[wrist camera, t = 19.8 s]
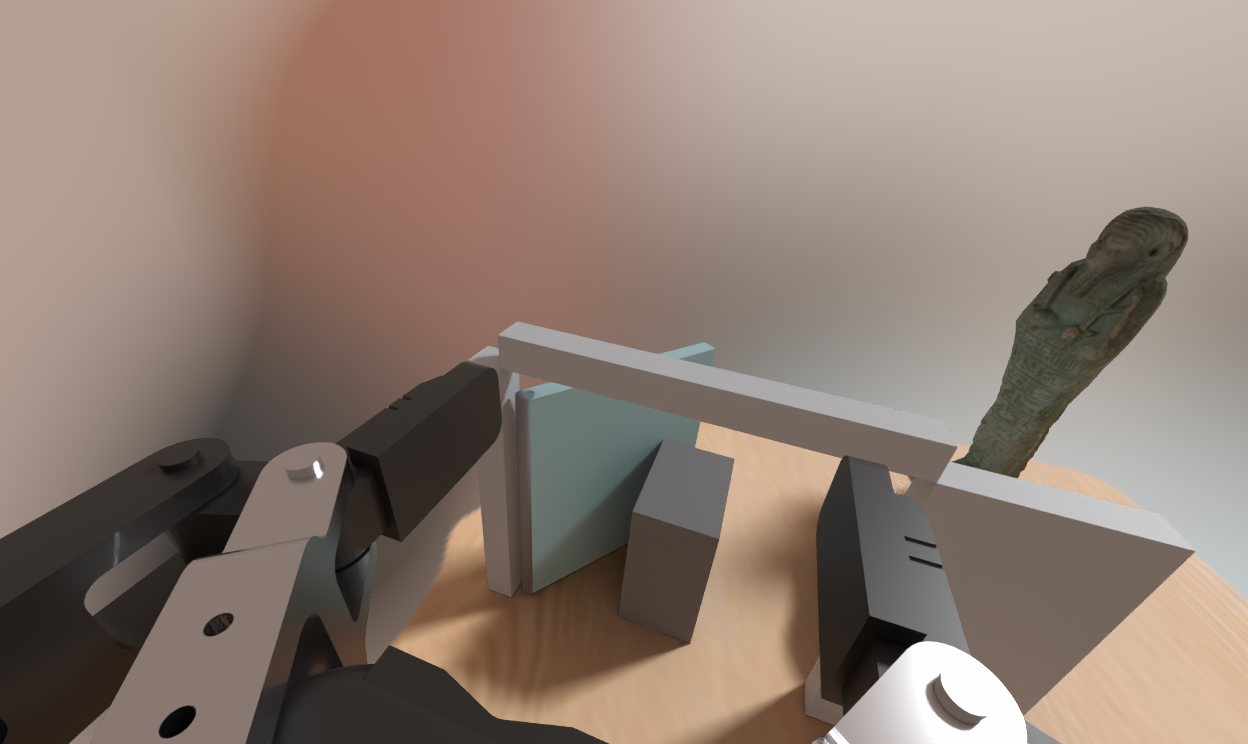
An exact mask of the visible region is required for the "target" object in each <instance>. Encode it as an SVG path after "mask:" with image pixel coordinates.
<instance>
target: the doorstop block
mask: <svg viewBox="0 0 1248 744" xmlns="http://www.w3.org/2000/svg"><path fill="white" fill-rule="evenodd" d="M733 464H734V459H733V458H729V457H726V456H722V455H718V454H715V453H711V452H707V451H704V450H700V449H697V448H693V447H689V446H686V445H682V444H678V443H675V442H671V441H668V440H663V442H662V444H661V447H660V449H659V451H658V454H657V456H656V458H655V461H654V463H653V465H652V467H651V470H650V472H649V474H648V477H647V479H646V481H645V484H644V486H643V488H642V491H641V493H640V495H639V498H638V500H637V502H636V504H635V507H634V509H633V512H632V519H631V526H630V533H629V541H628V548H627V555H626V562H625V570H624V577H623V584H622V591H621V599H620V606H619V613H618V617H620V618H623V619H626V620H628V621H631V622H634V623H636V624H639V625H642V626H644V627H647V628H649V629H652V630H655V631H657V632H660V633H663V634H665V635H668V636H671V637H673V638H676V639H678V640H681V641H684V642H686V643H689V644H690V642H691V638H692V635H693V631H694V627H695V624H696V620H697V617H698V613H699V610H700V606H701V602H702V599H703V595H704V592H705V588H706V585H707V581H708V577H709V574H710V570H711V567H712V563H713V559H714V556H715V552H716V549H717V545H718V542H719V538H720V532H721V527H722V522H723V517H724V511H725V506H726V501H727V496H728V490H729V485H730V480H731V475H732V469H733Z"/></svg>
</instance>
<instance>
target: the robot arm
mask: <svg viewBox="0 0 1248 744" xmlns="http://www.w3.org/2000/svg"><path fill="white" fill-rule="evenodd" d="M501 426H502V412H501V401H500V390H499V379H498V374H497V372H496V370H495V369H494V368H490V367H486V366H482V365H478V364H474V363H470V362H462V363H460V364H459V365H457V366H456V367H455V368H453V369H452V370H451V371H449V372H448V373H446V374H445V375H444V376H439V377H437V378H434V379H432V380H429V381H426V382H424V383H421V384H419V385H418V386H416V387H415V388H414V389H412V390H411V391H409V392H408V393H406V394H405V395H404V396H403V398H402V399H400V398H399V399H398V400H397V401H395V402H394V403H393V404H391V405H389V408H388V409H386V408H385V409H384V410H382V411H381V412H380V413H378V414H377V415H375V416H374V417H372V418H371V419H370V420H368V421H367V422H365V423H364V424H363V425H361V426H360V427H358V428H357V429H356V430H354V431H353V432H351V433H350V434H348V435H347V436H346V437H344V438H343V439H341V440H340V441H339V442H337V443H336V444H332V443H326V442H324V443H323V442H319V443H311V444H305V445H302V446H298V447H295V448H292V449H290V450H288V451H285V452H284V453H282V454H280V455H278V456H277V457H275V458H274V459H272V460H271V461H270V462H257V461H236V460H235V458H234V456H233V454H232V452H231V450H230V448H229V446H228V445H227V443H226V442H224V441H222V440H220V439H214V438H200V439H193V440H188V441H184V442H180V443H177V444H174V445H171V446H168V447H166V448H164V449H161V450H159V451H157V452H155V453H153V454H152V455H150V456H148V457H146V458H144V459H143V460H141V461H139V462H137V463H135V464H134V465H132V466H130V467H128V468H126V469H125V470H123V471H121V472H119V473H118V474H116V475H114V476H112V477H110V478H109V479H107V480H105V481H103V482H101V483H100V484H98V485H96V486H94V487H93V488H91V489H89V490H87V491H86V492H84V493H82V494H80V495H78V496H76V497H75V498H73V499H71V500H69V501H68V502H66V503H64V504H62V505H60V506H58V507H57V508H55V509H53V510H51V511H50V512H48V513H46V514H44V515H43V516H41V517H39V518H37V519H35V520H34V521H32V522H30V523H28V524H26V525H25V526H23V527H21V528H19V529H17V530H16V531H14V532H12V533H10V534H8V535H7V536H5V537H3V538H1V539H0V744H69V743H70V742H71V741H72V740H73V739H74V738H75V737H76V736H78V734H80V733H81V732H82V731H83V730H84V729H85V728H86V727H87V726H88V725H90V724H91V722H93V721H94V720H95V719H96V718H97V717H99V716H100V715H101V714H102V713H103V712H104V711H105V710H106V709H107V708H108V707H109V706H110V708H109V710H108V712H107V713H106V715H105V717H104V719H103V721H102V723H101V725H100V726H99V728H98V730H97V732H96V734H95V736H94V738H93V739H92V741H91V743H90V744H609V743H606V742H604V741H602V740H600V739H597V738H595V737H593V736H591V735H588V734H586V733H584V732H582V731H580V730H577V729H575V728H573V727H564V726H555V725H546V724H537V723H528V722H519V721H510V720H502V719H498V718H496V717H494V716H492V715H491V714H490V713H489V712H488V711H487V710H486V709H485V708H484V707H483V706H482V705H480V704H479V703H478V702H477V701H476V700H475V699H474V698H473V697H472V696H471V695H470V694H469V693H468V692H467V691H466V690H465V689H464V688H463V687H462V686H461V685H460V684H459V683H458V682H457V681H456V680H455V679H454V678H452V677H451V676H450V675H449V674H448V673H447V672H446V671H445V670H444V669H441V668H439V667H437V666H435V665H433V664H430V663H428V662H426V661H424V660H421V659H419V658H417V657H415V656H412V655H410V654H408V653H406V652H404V651H401V650H399V649H397V648H395V647H392V646H390V645H389V646H388V648H387V649H386V650H385V651H384V653H383V654H382V655H381V657H380V658H379V659H378V660H377V662H376V663H375V664H368V661H367V652H366V642H365V636H366V626H367V619H368V612H369V605H370V598H371V591H372V585H373V584H372V583H373V578H374V570H375V564H376V557H377V548H376V544H375V540H376V539H377V538H378V537H379V536H380V535H384V536H387V537H389V538H392V539H395V540H397V541H400V542H402V541H403V540H404V539H405V538H406V537H407V536H408V535H409V534H410V532H411V531H412V530H413V529H414V528H415V527H416V526H417V525H418V524H419V523H420V522H421V521H422V520H423V519H424V517H426V515H427V514H428V513H429V512H430V511H431V510H432V509H433V508H434V507H435V506H436V505H437V503H438V502H440V500H441V499H442V498H443V497H444V496H445V495H446V494H447V493H448V492H449V491H450V490H451V489H452V488H453V487H454V485H455V484H456V483H457V482H458V481H459V480H460V479H461V478H462V477H463V476H464V475H465V474H466V473H467V472H468V471H469V469H470V468H471V467H472V466H473V465H474V464H475V463H476V462H477V461H478V460H479V459H480V458H481V457H482V456H483V454H484V453H485V452H486V451H487V450H488V449H489V448H490V447H491V446H492V445H493V444H494V442H495V441H496V439H497V438H498V435H499V433H500V430H501ZM163 532H164V533H165V535H166V536H167V538H168V539H169V541H170V542H171V544H172V545H173V547H174V548H175V550H176V551H177V554H175V555H174V556H173V557H171V558H170V559H169V560H167V561H166V562H165V563H163V564H162V565H161V566H159V567H158V568H157V569H155V570H154V571H153V572H151V573H150V574H149V575H147V576H146V577H145V578H143V579H142V580H140V581H139V582H138V583H136V584H135V585H134V586H133V587H131V588H130V589H129V590H127V591H126V592H125V593H123V594H122V595H120V596H119V597H118V598H116V599H115V600H114V601H112V602H111V603H110V604H108V605H107V606H106V607H104V608H103V609H102V610H100V611H99V612H98V613H96V614H95V615H94V616H92V615H91V614H90V613H89V612H88V611H87V610H86V608H85V606H84V599H85V595H86V593H87V591H88V590H89V588H90V587H91V585H92V584H93V583H94V582H95V581H96V580H97V579H98V578H99V577H100V576H102V575H103V574H104V573H106V572H107V571H109V570H110V569H112V568H113V567H115V566H116V565H117V564H119V563H120V562H122V561H123V560H125V559H126V558H127V557H129V556H130V555H132V554H133V553H135V552H136V551H137V550H139V549H140V548H142V547H143V546H145V545H146V544H147V543H149V542H150V541H152V540H153V539H155V538H156V537H157V536H159V535H160V534H162V533H163ZM816 544H817V577H818V611H819V644H820V677H821V698H822V699H824V700H827V701H830V702H832V703H835V704H838V705H840V706H843V718H842V719H841V720H840V721H839V722H838V723H837V724H836V725H835V726H834V728H833V729H832V730H831V731H830V732H829V733H828V734H826V735H825V736H824V737H823V736H820V737H819V738H818V739H816V740H815V741H814V742H813V743H812V744H1061V743H1060V742H1058V741H1056V740H1055V739H1053V738H1051V737H1050V736H1048V735H1047V734H1045V733H1043V732H1042V731H1040V730H1039V729H1037V728H1036V727H1034V726H1033V725H1031V724H1030V723H1028V722H1027V721H1026V720H1024V719H1023V717H1022V714H1021V712H1020V710H1019V708H1018V706H1017V704H1016V702H1015V701H1014V699H1013V698H1012V696H1011V695H1010V693H1009V692H1008V691H1007V689H1006V688H1005V687H1004V685H1003V684H1002V683H1001V682H1000V681H999V680H998V679H997V678H996V677H995V676H994V675H993V674H992V673H991V672H990V671H989V670H988V669H987V668H986V667H985V666H983V665H982V664H981V663H979V662H978V661H977V660H975V659H974V658H972V657H971V654H970V651H969V648H968V645H967V642H966V639H965V635H964V632H963V629H962V626H961V622H960V619H959V616H958V613H957V609H956V606H955V603H954V600H953V596H952V593H951V590H950V587H949V583H948V580H947V577H946V574H945V571H944V570H942V566H943V564H942V561H941V557H940V554H939V551H938V550H937V549H936V546H937V544H936V541H935V538H934V535H933V531H932V528H931V525H930V522H929V520H928V519H927V518H926V516H925V515H924V514H923V512H922V511H921V510H920V509H919V507H918V506H917V505H916V503H915V502H914V501H913V500H912V498H909V497H906V496H902V495H898V494H894V491H893V487H892V482H891V478H890V474H889V470H888V467H887V466H886V465H884V464H880V463H876V462H872V461H868V460H864V459H860V458H856V457H852V456H848V455H845V456H844V457H843V458H842V460H841V462H840V464H839V466H838V469H837V471H836V474H835V476H834V479H833V481H832V484H831V486H830V489H829V491H828V493H827V496H826V498H825V501H824V503H823V506H822V508H821V511H820V515H819V519H818V525H817V534H816Z"/></svg>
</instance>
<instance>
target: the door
mask: <svg viewBox="0 0 1248 744" xmlns="http://www.w3.org/2000/svg"><path fill="white" fill-rule="evenodd" d="M714 354H715V348H713V347H712V346H710V345H708V344H706V343H705V342H704V343H700V344H696V345H692V346H689V347H684V348H681V349H677V350H673V351H669V352H665V353H661V354H659V355H663V356H668V357H672V358H676V359H680V360H685V361H689V362H693V363H698V364H702V365H706V366H711V367H712V364H713V359H714ZM515 410H516V440H517V471H518V501H519V532H520V562H521V589H522V592H523V593H525V594H532V593H534V592H536V591H538V590H540V589H542V588H544V587H546V586H547V585H549V584H551V583H553V582H555V581H557V580H559V579H561V578H563V577H565V576H566V575H568V574H570V573H572V572H574V571H576V570H578V569H580V568H582V567H584V566H585V565H587V564H589V563H591V562H593V561H595V560H597V559H599V558H601V557H603V556H605V555H606V554H608V553H610V552H612V551H614V550H616V549H618V548H620V547H622V546H624V545H625V544H627V543H628V541H629V533H630V526H631V519H632V512H633V509H634V507H635V504H636V502H637V500H638V498H639V495H640V493H641V491H642V488H643V486H644V484H645V481H646V479H647V477H648V474H649V472H650V470H651V467H652V465H653V463H654V461H655V458H656V456H657V454H658V451H659V449H660V447H661V444H662V442H663V440H668V441H671V442H675V443H678V444H682V445H686V446H689V447H693V448H695V444H696V439H697V435H698V430H699V425H700V421H698V420H694V419H690V418H687V417H683V416H679V415H675V414H671V413H668V412H664V411H660V410H656V409H652V408H648V407H645V406H641V405H637V404H633V403H629V402H626V401H622V400H618V399H614V398H610V397H607V396H603V395H599V394H595V393H591V392H588V391H584V390H580V389H576V388H572V387H569V386H565V385H561V384H557V383H553V382H550V383H546V384H542V385H539V386H535V387H531V388H527V389H523V390H520V391H518V392H516V394H515Z"/></svg>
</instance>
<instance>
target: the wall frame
mask: <svg viewBox="0 0 1248 744" xmlns="http://www.w3.org/2000/svg"><path fill="white" fill-rule="evenodd" d="M468 362H470V363H474V364H478V365H482V366H486V367H490V368H494V369H495V370H496V372H497V374H498V379H499V390H500V401H501V412H502V426H501V430H500V433H499V435H498V438H497V439H496V441H495V442H494V444H493V445H492V446H491V447H490V448H489V449H488V450H487V451H486V452H485V453H484V454H483V456H482V457H481V458H480V459H479V460H478V461H477V469H478V480H479V491H480V503H481V514H482V525H483V536H484V548H485V559H486V570H487V581H488V589H490V590H493V591H495V592H498V593H500V594H503V595H505V596H508V597H512V596H513V594H514V592H515V591H516V589H517V587H518V586H519V584H520V583H521V562H520V532H519V501H518V471H517V440H516V410H515V394H516V392H518V391H519V374H523V375H527V376H530V377H534V378H538V379H542V380H546V381H549V382H553V383H557V384H561V385H565V386H569V387H572V388H576V389H580V390H584V391H588V392H591V393H595V394H599V395H603V396H607V397H610V398H614V399H618V400H622V401H626V402H629V403H633V404H637V405H641V406H645V407H648V408H652V409H656V410H660V411H664V412H668V413H671V414H675V415H679V416H683V417H687V418H690V419H694V420H698V421H702V422H706V423H709V424H713V425H717V426H721V427H725V428H728V429H732V430H736V431H740V432H744V433H747V434H751V435H755V436H759V437H763V438H767V439H770V440H774V441H778V442H782V443H786V444H789V445H793V446H797V447H801V448H805V449H808V450H812V451H816V452H820V453H824V454H827V455H831V456H835V457H839V458H843V457H844V456H845V455H848V456H852V457H856V458H860V459H864V460H868V461H872V462H876V463H880V464H884V465H886V466H887V467H888V470H889V471H892V472H896V473H900V474H904V475H907V476H911V477H914V479H913V481H912V483H911V485H910V487H909V488H908V490H907V492H906V494H905V496H906V497H909V498H912V500H913V501H914V502H915V503H916V505H917V506H918V507H919V509H920V510H921V511H922V512H923V514H924V515H925V516H926V518H927V519H928V520H929V522H930V525H931V528H932V531H933V535H934V538H935V541H936V544H937V546H936V549H937V550H938V551H939V554H940V557H941V561H942V564H943V566H942V570H944V571H945V574H946V577H947V580H948V583H949V587H950V590H951V593H952V596H953V600H954V603H955V606H956V609H957V613H958V616H959V619H960V622H961V626H962V629H963V632H964V635H965V639H966V642H967V645H968V648H969V651H970V654H971V657H972V658H974V659H975V660H977V661H978V662H979V663H981V664H982V665H983V666H985V667H986V668H987V669H988V670H989V671H990V672H991V673H992V674H993V675H994V676H995V677H996V678H997V679H998V680H999V681H1000V682H1001V683H1002V684H1003V685H1004V687H1005V688H1006V689H1007V691H1008V692H1009V693H1010V695H1011V696H1012V698H1013V699H1014V701H1015V702H1016V704H1017V706H1018V708H1019V710H1020V712H1021V714H1022V717H1023V716H1024V715H1025V714H1026V713H1027V712H1028V711H1029V710H1030V709H1031V708H1032V707H1033V706H1034V705H1035V704H1036V703H1037V702H1038V701H1039V700H1040V699H1042V698H1043V697H1044V696H1045V695H1046V694H1047V693H1048V692H1049V691H1050V690H1051V689H1052V688H1053V687H1054V686H1055V685H1056V684H1057V683H1058V682H1059V681H1060V680H1061V679H1062V678H1063V677H1065V676H1066V675H1067V674H1068V673H1069V672H1070V671H1071V670H1072V669H1073V668H1074V667H1075V666H1076V665H1077V664H1078V663H1079V662H1080V661H1081V660H1082V659H1083V658H1084V657H1085V656H1086V655H1088V654H1089V653H1090V652H1091V651H1092V650H1093V649H1094V648H1095V647H1096V646H1097V645H1098V644H1099V643H1100V642H1101V641H1102V640H1103V639H1104V638H1105V637H1106V636H1107V635H1108V634H1109V633H1111V632H1112V631H1113V630H1114V629H1115V628H1116V627H1117V626H1118V625H1119V624H1120V623H1121V622H1122V621H1123V620H1124V619H1125V618H1126V617H1127V616H1128V615H1129V614H1130V613H1131V612H1132V611H1134V610H1135V609H1136V608H1137V607H1138V606H1139V605H1140V604H1141V603H1142V602H1143V601H1144V600H1145V599H1146V598H1147V597H1148V596H1149V595H1150V594H1151V593H1152V592H1153V591H1154V590H1155V589H1157V588H1158V587H1159V586H1160V585H1161V584H1162V583H1163V582H1164V581H1165V580H1166V579H1167V578H1168V577H1169V576H1170V575H1171V574H1172V573H1173V572H1174V571H1175V570H1176V569H1177V568H1178V567H1180V566H1181V565H1182V564H1183V563H1184V562H1185V561H1186V560H1187V559H1188V558H1189V557H1190V556H1191V555H1192V554H1193V553H1194V552H1195V550H1194V549H1193V548H1192V547H1191V546H1190V545H1189V544H1188V543H1187V542H1186V541H1185V539H1184V538H1183V537H1182V536H1181V535H1180V534H1179V533H1178V532H1177V531H1176V530H1175V529H1174V528H1173V527H1172V526H1171V525H1170V524H1169V523H1168V521H1167V520H1166V519H1165V518H1164V517H1163V516H1162V515H1161V514H1157V513H1152V512H1149V511H1145V510H1141V509H1137V508H1133V507H1129V506H1125V505H1121V504H1117V503H1113V502H1109V501H1105V500H1101V499H1097V498H1093V497H1089V496H1085V495H1081V494H1077V493H1073V492H1069V491H1065V490H1061V489H1057V488H1053V487H1049V486H1045V485H1041V484H1037V483H1033V482H1029V481H1025V480H1021V479H1017V478H1013V477H1009V476H1005V475H1001V474H997V473H993V472H989V471H985V470H981V469H977V468H973V467H969V466H965V465H961V464H957V463H953V462H949V461H950V459H951V458H952V456H953V454H954V452H955V451H956V449H957V445H956V443H955V441H954V439H953V437H952V435H951V433H950V431H949V429H948V427H947V425H946V423H945V421H942V420H938V419H934V418H930V417H925V416H921V415H917V414H913V413H908V412H904V411H900V410H896V409H891V408H887V407H882V406H878V405H874V404H870V403H865V402H861V401H857V400H852V399H848V398H844V397H840V396H835V395H831V394H827V393H822V392H818V391H814V390H809V389H805V388H801V387H797V386H792V385H788V384H783V383H779V382H775V381H771V380H766V379H762V378H757V377H753V376H749V375H744V374H741V373H736V372H732V371H728V370H723V369H719V368H715V367H711V366H706V365H702V364H698V363H693V362H689V361H685V360H680V359H676V358H672V357H668V356H663V355H659V354H654V353H650V352H646V351H642V350H637V349H633V348H629V347H624V346H620V345H616V344H611V343H607V342H603V341H599V340H594V339H590V338H585V337H581V336H577V335H573V334H568V333H564V332H560V331H555V330H551V329H547V328H543V327H538V326H534V325H530V324H526V323H521V322H516V323H515V324H513V325H512V326H510V327H509V328H507V329H506V330H505V331H503V332H502V333H500V334H499V335H498V348H495V347H491V346H487V347H486V348H484V349H483V350H482V351H480V352H479V353H477V354H476V355H474V356H473V357H471V358H470V359H469V360H468ZM805 714H806V715H808V716H811V717H814V718H816V719H819V720H821V721H824V722H826V723H829V724H831V725H834V726H835V725H836V724H837V723H838V722H839V721H840V720H841V719H842V718H843V706H840V705H838V704H835V703H832V702H830V701H827V700H824V699H822V698H821V677H820V655H819V657H818V659H817V661H816V663H815V665H814V666H813V668H812V670H811V672H810V674H809V676H808V678H807V680H806V681H805Z"/></svg>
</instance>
